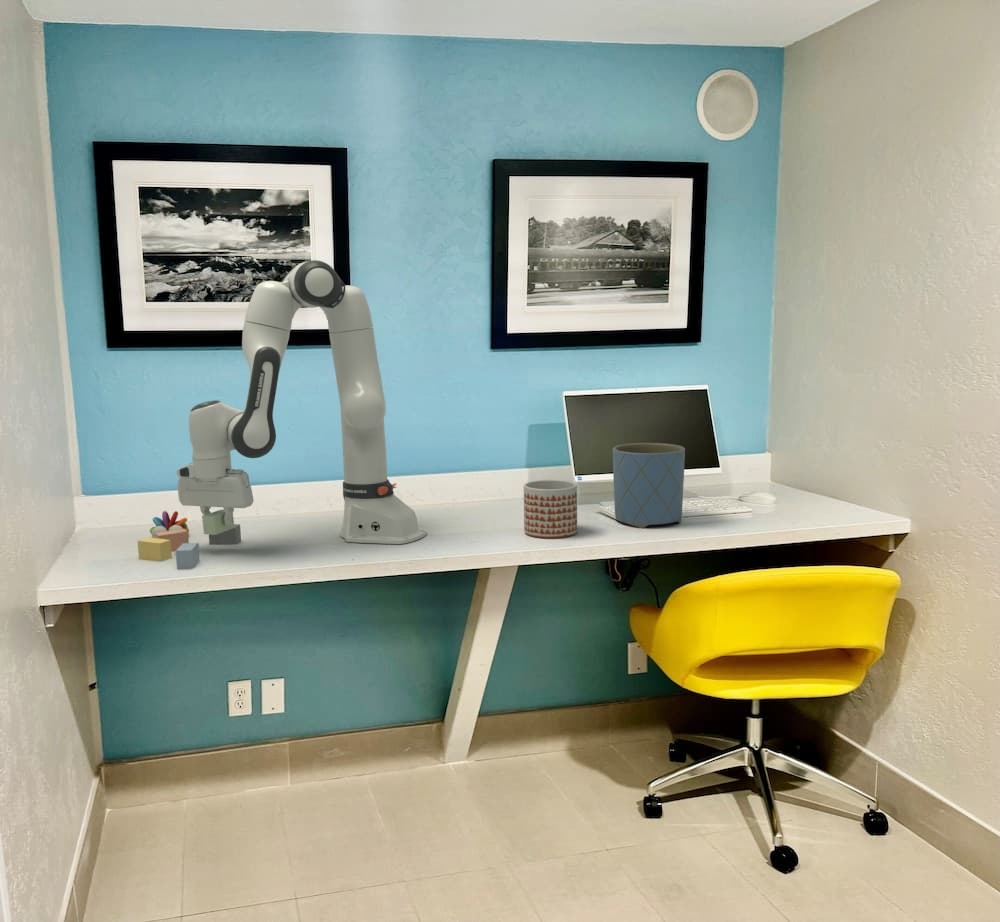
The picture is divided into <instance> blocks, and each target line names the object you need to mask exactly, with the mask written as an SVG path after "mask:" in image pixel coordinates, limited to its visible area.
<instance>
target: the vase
mask: <svg viewBox="0 0 1000 922" xmlns="http://www.w3.org/2000/svg"><path fill="white" fill-rule="evenodd" d="M523 525H524V526H523V528H524V531H523V532H524V533H525V535H527V536H529V537H531V538H532V537H533V538H537V539H546V540H547V539H553V540H554V539H563V538H568V537H571V536H574V535H576V534H577V533H578V484H577V483H576V482H573V481H570V480H565V479H539V480H537V479H536V480H532V481H528V482H526V483H524V484H523Z"/></svg>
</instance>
